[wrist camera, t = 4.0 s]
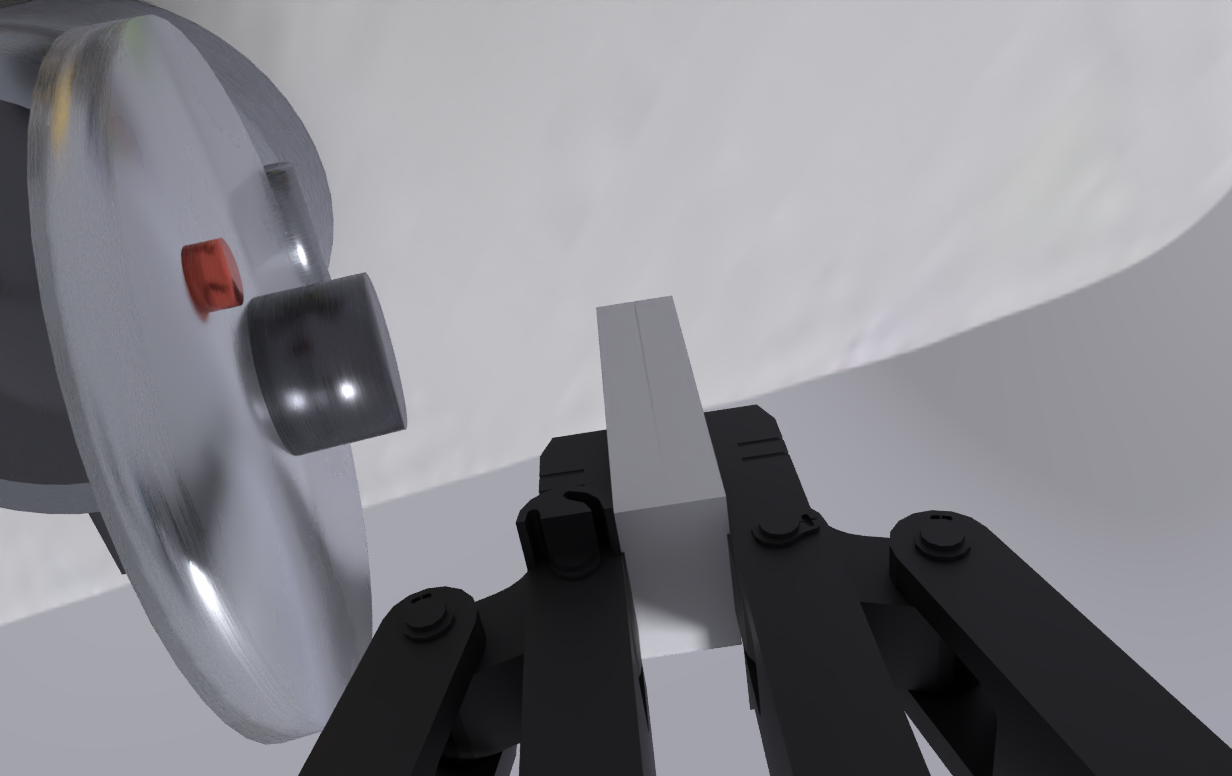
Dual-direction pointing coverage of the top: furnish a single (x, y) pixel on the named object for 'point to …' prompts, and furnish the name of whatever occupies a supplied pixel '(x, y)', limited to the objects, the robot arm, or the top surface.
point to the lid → (206, 375)
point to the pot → (4, 259)
